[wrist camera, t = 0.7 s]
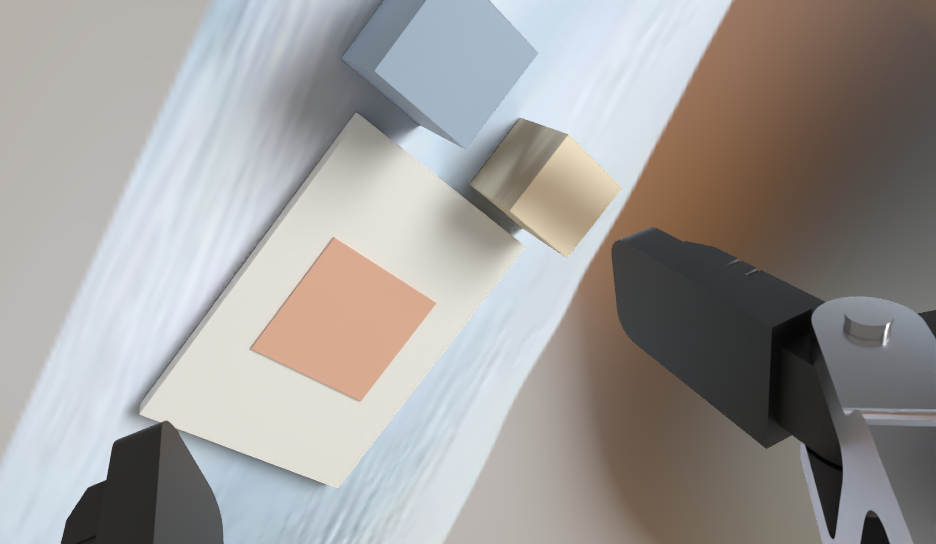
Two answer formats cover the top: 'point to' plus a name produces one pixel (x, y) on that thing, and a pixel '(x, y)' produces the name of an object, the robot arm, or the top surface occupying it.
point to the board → (335, 312)
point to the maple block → (546, 185)
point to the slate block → (441, 61)
